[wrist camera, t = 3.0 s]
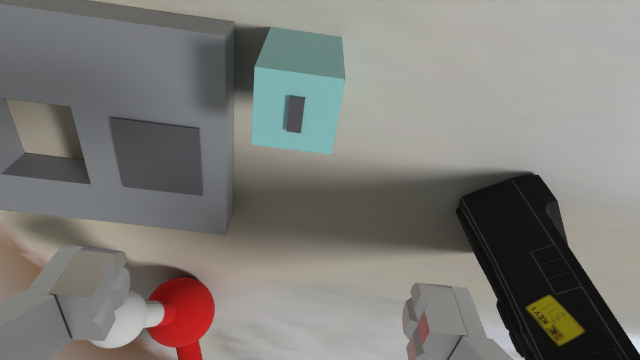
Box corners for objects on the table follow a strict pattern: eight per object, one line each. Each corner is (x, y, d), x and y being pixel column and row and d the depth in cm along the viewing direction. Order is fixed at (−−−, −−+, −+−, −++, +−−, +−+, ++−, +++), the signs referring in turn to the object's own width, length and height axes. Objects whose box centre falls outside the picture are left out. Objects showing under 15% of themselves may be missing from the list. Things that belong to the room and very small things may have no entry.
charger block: (270, 27, 22) (253, 68, 17) (341, 37, 22) (345, 81, 17) (266, 93, 24) (250, 146, 20) (331, 101, 25) (331, 156, 20)
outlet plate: (-72, -23, 21) (-119, -12, 19) (234, 21, 22) (224, 37, 20) (13, 186, 29) (-12, 210, 27) (233, 211, 30) (225, 236, 28)
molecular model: (250, 335, 40) (230, 448, 32) (199, 341, 41) (167, 452, 33) (176, 206, 30) (120, 323, 22) (109, 216, 31) (33, 334, 23)
